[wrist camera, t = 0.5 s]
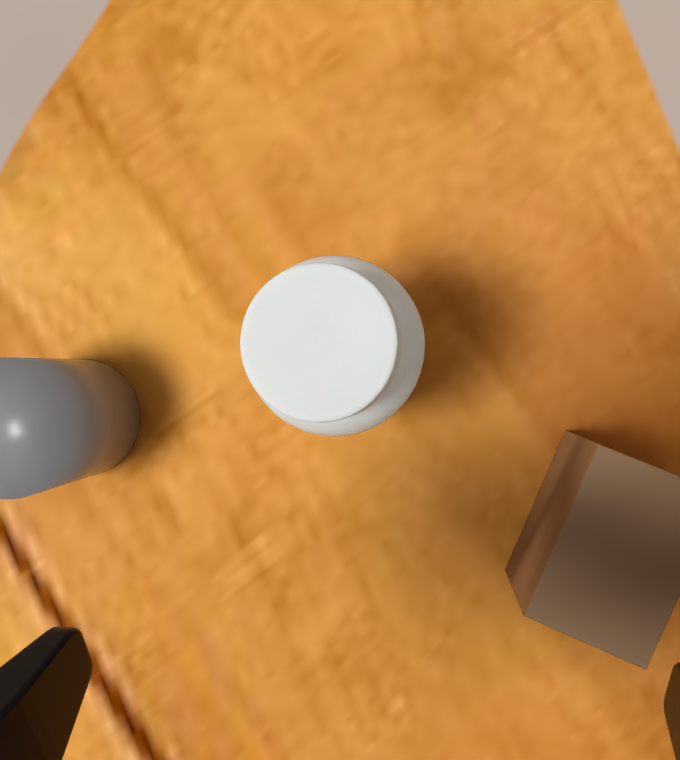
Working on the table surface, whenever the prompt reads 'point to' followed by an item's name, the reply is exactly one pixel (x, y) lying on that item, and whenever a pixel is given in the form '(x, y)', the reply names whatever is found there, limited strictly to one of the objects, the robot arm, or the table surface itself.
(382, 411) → the supplement bottle
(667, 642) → the table surface
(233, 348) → the table surface
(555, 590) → the walnut block
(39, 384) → the gray capsule
